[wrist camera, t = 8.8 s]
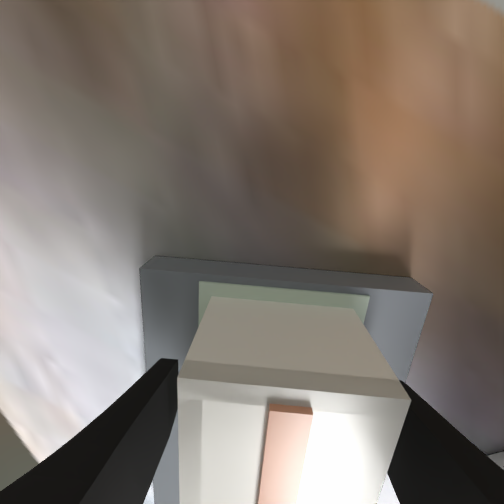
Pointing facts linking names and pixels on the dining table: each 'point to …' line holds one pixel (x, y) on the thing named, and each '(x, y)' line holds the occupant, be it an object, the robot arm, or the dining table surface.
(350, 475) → the white cube with stripe
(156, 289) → the board
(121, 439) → the robot arm
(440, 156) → the dining table surface
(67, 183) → the dining table surface
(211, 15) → the dining table surface
